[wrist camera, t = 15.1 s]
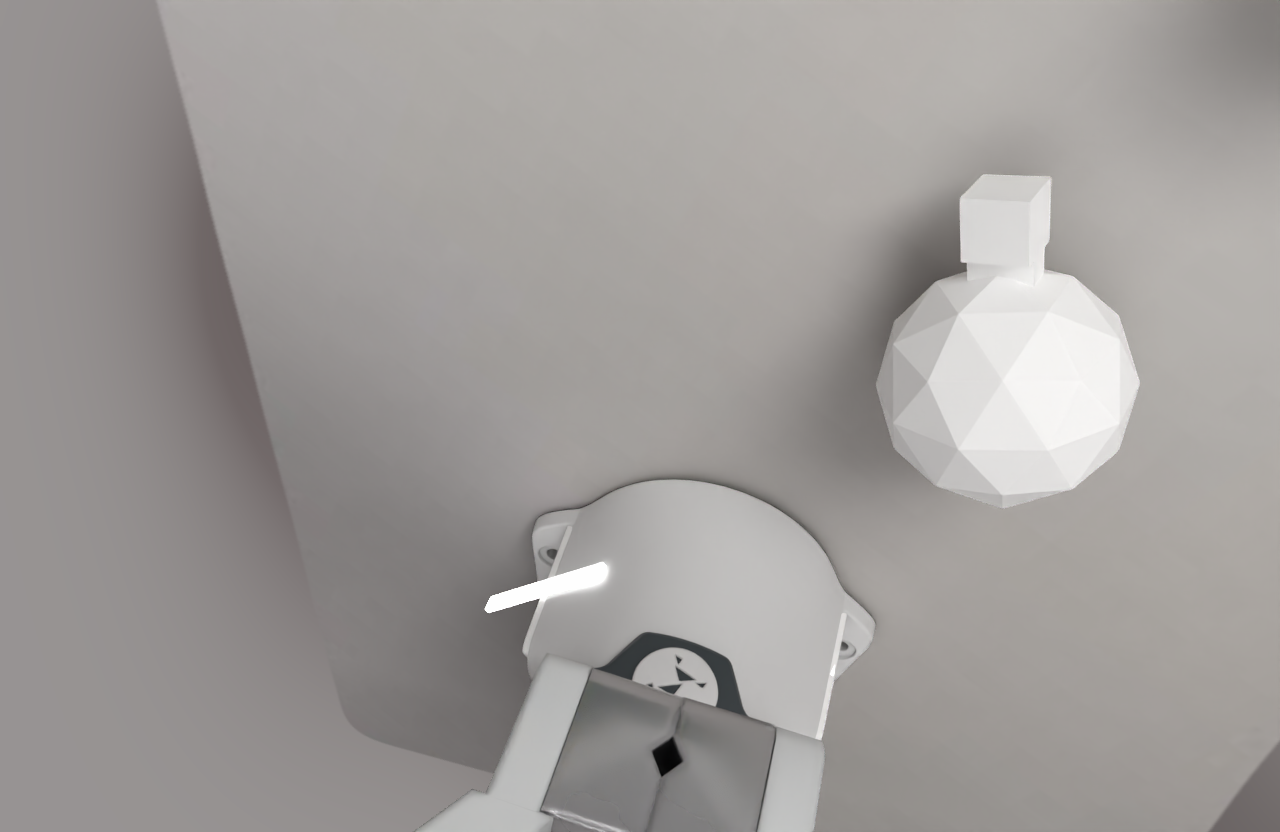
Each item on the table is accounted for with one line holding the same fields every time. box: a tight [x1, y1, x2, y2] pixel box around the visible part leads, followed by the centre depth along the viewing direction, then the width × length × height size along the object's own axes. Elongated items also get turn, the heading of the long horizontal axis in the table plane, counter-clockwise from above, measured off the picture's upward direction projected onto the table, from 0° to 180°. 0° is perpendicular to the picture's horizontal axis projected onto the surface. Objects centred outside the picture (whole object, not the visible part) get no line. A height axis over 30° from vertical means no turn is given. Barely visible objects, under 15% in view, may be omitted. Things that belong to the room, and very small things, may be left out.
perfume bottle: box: [876, 174, 1140, 509], centre depth 38 cm, size 9×9×12 cm
